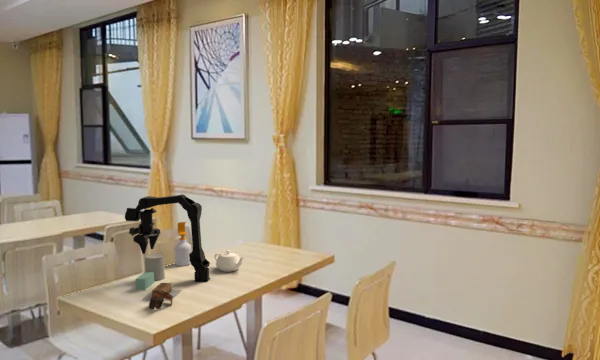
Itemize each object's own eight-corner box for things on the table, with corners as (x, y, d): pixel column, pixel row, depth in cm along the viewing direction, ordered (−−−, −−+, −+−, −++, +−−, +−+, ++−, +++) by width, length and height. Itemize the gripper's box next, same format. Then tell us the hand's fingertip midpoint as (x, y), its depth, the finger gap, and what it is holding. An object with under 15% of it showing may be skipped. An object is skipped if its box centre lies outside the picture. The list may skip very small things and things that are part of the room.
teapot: (206, 269, 265) (205, 250, 264) (223, 263, 276) (223, 245, 275) (236, 276, 253) (235, 256, 251) (253, 270, 264) (252, 250, 262)
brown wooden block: (167, 295, 224) (166, 286, 223) (162, 299, 219) (162, 290, 218) (156, 294, 224) (156, 286, 224) (152, 298, 219) (151, 290, 219)
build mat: (182, 291, 230) (181, 290, 230) (171, 301, 216) (171, 300, 216) (153, 290, 232) (153, 289, 232) (141, 300, 218) (141, 299, 218)
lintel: (145, 283, 242) (145, 271, 241) (154, 283, 242) (153, 272, 241) (136, 290, 231) (135, 278, 231) (145, 291, 231) (144, 279, 230)
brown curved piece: (147, 305, 214) (156, 288, 215) (167, 313, 215) (176, 296, 217) (145, 308, 202) (154, 289, 204) (166, 317, 203) (174, 298, 205)
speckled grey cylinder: (159, 282, 243) (158, 258, 241) (142, 281, 245) (141, 257, 243) (168, 276, 252) (167, 253, 251) (151, 275, 254) (150, 253, 252)
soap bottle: (177, 267, 269) (176, 223, 266) (173, 262, 277) (172, 220, 274) (193, 264, 273) (192, 222, 271) (189, 260, 281) (188, 219, 279)
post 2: (171, 291, 229) (171, 283, 229) (167, 294, 224) (167, 286, 224) (161, 290, 230) (161, 282, 229) (157, 294, 225) (156, 286, 224)
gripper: (140, 217, 255) (141, 246, 257) (122, 224, 237) (124, 255, 239) (160, 218, 254) (161, 247, 255) (144, 225, 235) (145, 256, 237)
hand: (147, 251), depth 247 cm, fingers open, 9 cm apart
